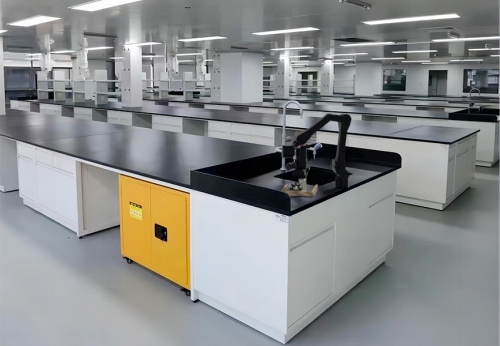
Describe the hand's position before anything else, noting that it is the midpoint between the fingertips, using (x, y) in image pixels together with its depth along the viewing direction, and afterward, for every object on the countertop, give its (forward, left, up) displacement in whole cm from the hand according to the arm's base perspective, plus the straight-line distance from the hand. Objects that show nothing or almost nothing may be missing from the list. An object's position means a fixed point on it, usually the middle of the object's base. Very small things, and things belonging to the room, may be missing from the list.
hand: (301, 185), depth 231 cm
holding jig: (0, +7, -2) cm, 7 cm away
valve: (0, +8, -2) cm, 8 cm away
